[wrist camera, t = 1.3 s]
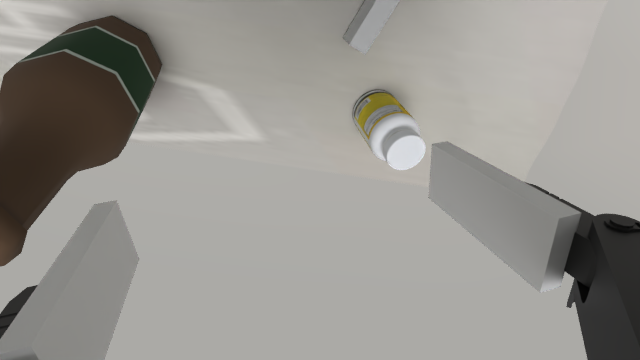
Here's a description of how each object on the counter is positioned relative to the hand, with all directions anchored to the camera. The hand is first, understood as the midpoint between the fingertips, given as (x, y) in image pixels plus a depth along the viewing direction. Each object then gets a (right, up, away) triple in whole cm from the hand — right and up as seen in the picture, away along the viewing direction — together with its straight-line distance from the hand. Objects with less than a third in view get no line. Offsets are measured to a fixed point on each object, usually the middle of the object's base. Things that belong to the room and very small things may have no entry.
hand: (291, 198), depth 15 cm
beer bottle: (-18, +12, +18) cm, 28 cm away
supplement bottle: (+8, +9, +27) cm, 29 cm away
